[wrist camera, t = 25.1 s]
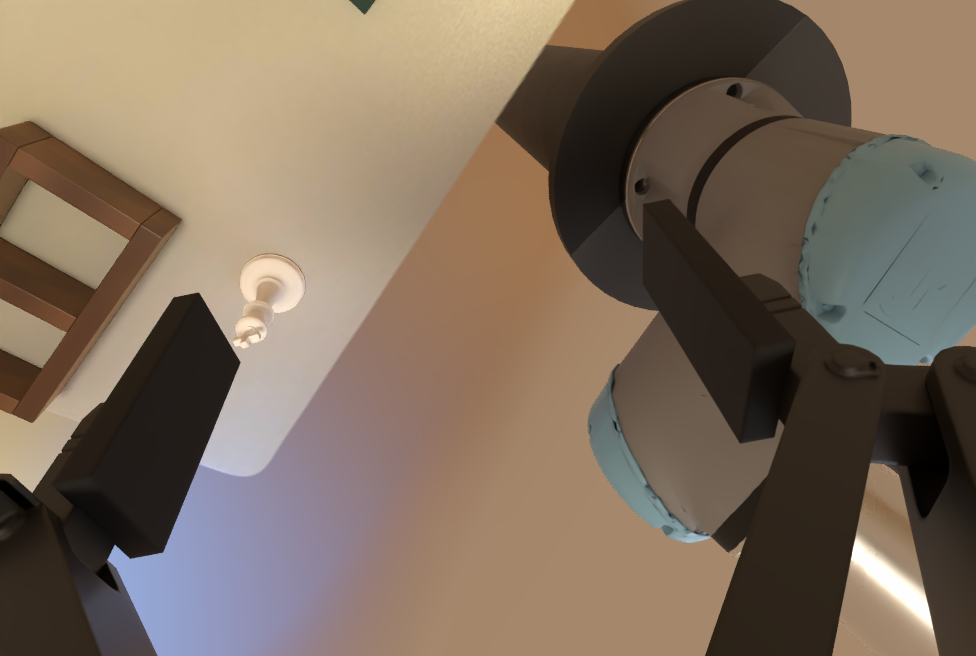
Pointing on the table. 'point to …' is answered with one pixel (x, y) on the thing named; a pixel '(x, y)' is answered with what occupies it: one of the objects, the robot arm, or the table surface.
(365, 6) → the mat
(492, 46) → the table surface
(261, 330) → the chess piece
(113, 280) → the rack
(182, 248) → the table surface
